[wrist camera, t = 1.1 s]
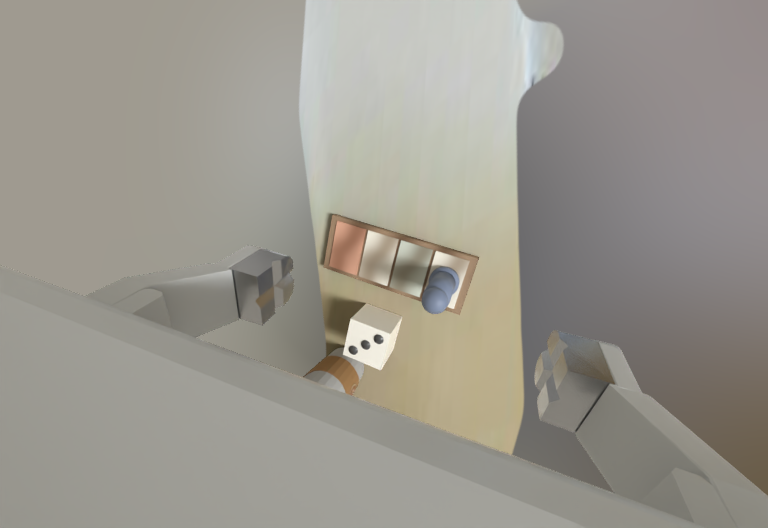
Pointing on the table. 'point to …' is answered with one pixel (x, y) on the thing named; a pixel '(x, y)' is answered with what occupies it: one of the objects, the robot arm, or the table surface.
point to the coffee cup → (337, 372)
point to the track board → (394, 259)
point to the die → (372, 335)
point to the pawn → (440, 289)
